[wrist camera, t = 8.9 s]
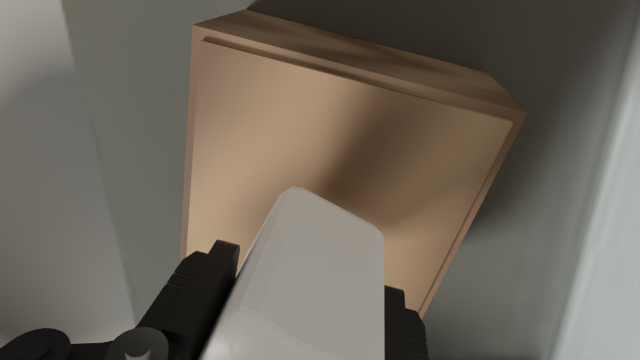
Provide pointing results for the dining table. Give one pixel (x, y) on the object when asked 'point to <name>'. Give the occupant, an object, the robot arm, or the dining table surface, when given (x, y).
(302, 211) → the salt shaker
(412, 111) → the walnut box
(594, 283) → the dining table surface
